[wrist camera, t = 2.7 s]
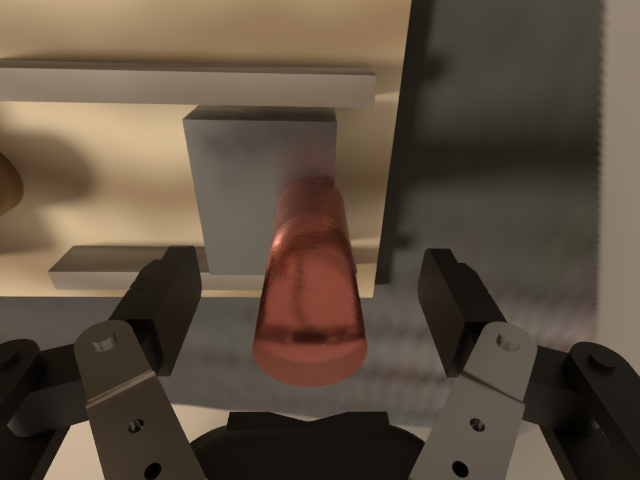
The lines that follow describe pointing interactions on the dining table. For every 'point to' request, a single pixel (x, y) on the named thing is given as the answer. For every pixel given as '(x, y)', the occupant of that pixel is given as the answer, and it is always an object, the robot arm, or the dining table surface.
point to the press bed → (175, 124)
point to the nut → (9, 186)
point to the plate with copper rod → (281, 232)
